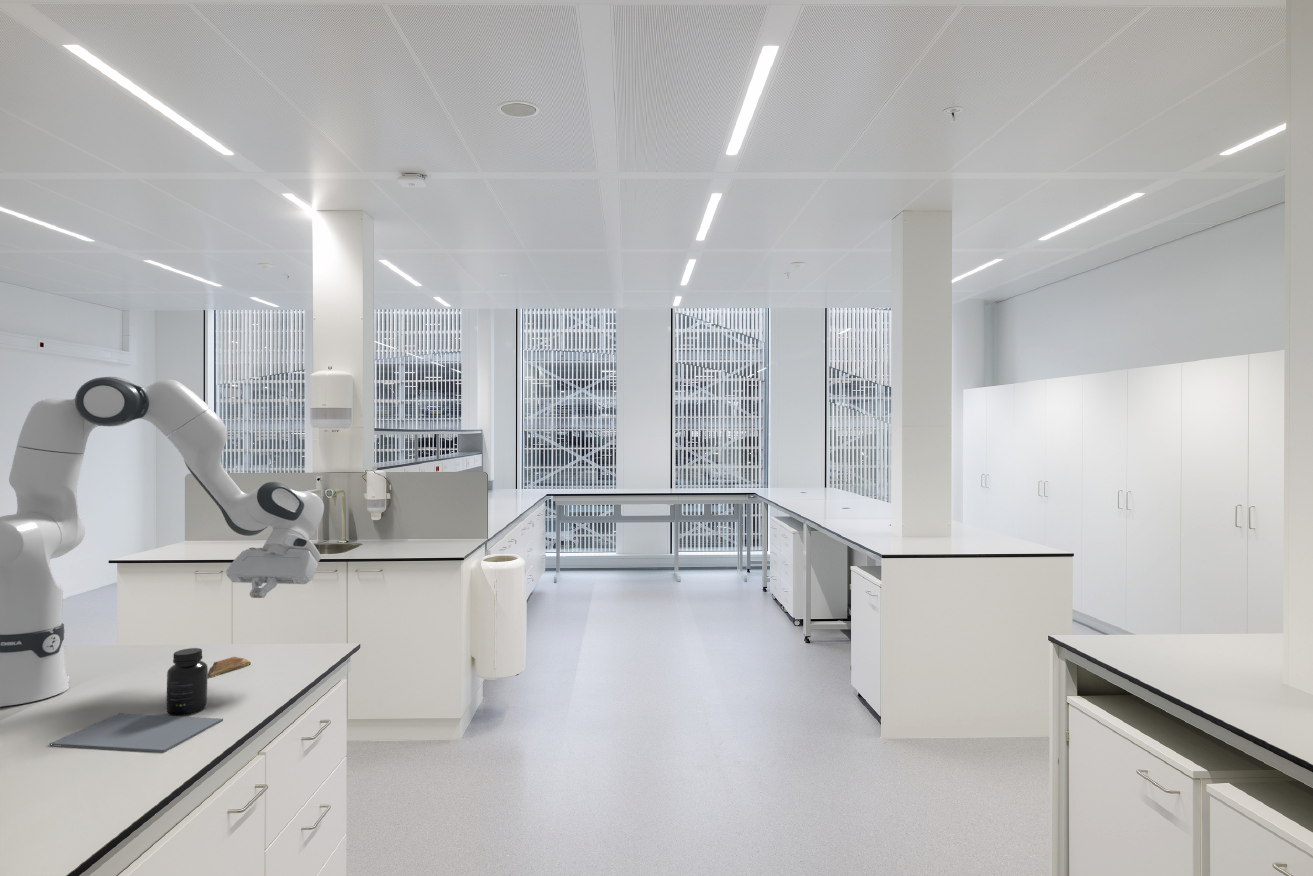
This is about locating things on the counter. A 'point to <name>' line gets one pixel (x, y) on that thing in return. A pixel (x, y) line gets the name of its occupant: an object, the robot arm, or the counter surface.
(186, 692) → the supplement bottle
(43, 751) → the counter surface
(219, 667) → the shard
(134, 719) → the mat
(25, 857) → the counter surface
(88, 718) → the counter surface
